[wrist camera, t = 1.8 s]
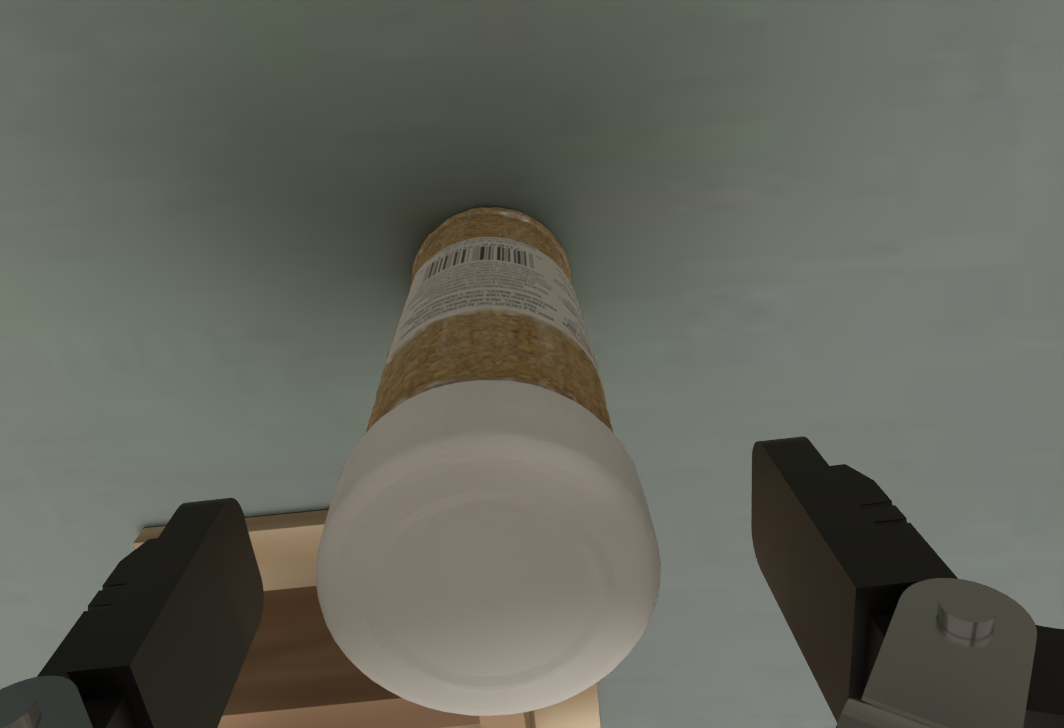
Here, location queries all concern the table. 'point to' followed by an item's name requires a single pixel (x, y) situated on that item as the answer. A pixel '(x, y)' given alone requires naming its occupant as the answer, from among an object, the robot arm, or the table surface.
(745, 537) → the table surface
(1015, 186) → the table surface
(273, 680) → the socket
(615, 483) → the sprinkles bottle
